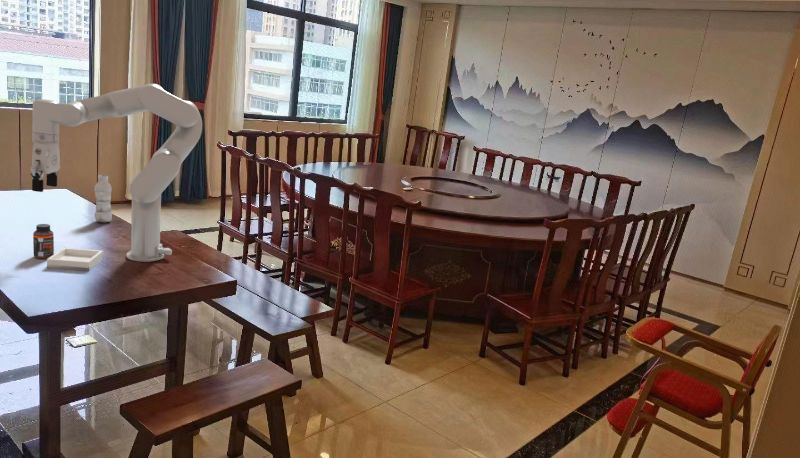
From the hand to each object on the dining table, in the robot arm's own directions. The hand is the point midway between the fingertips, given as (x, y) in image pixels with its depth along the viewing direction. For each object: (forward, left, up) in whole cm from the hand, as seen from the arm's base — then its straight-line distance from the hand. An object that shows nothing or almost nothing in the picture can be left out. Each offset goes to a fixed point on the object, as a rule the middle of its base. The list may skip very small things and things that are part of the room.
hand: (44, 188), depth 195 cm
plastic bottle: (-2, -48, -24) cm, 54 cm away
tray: (-12, +5, -24) cm, 27 cm away
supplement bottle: (0, +1, -24) cm, 24 cm away
